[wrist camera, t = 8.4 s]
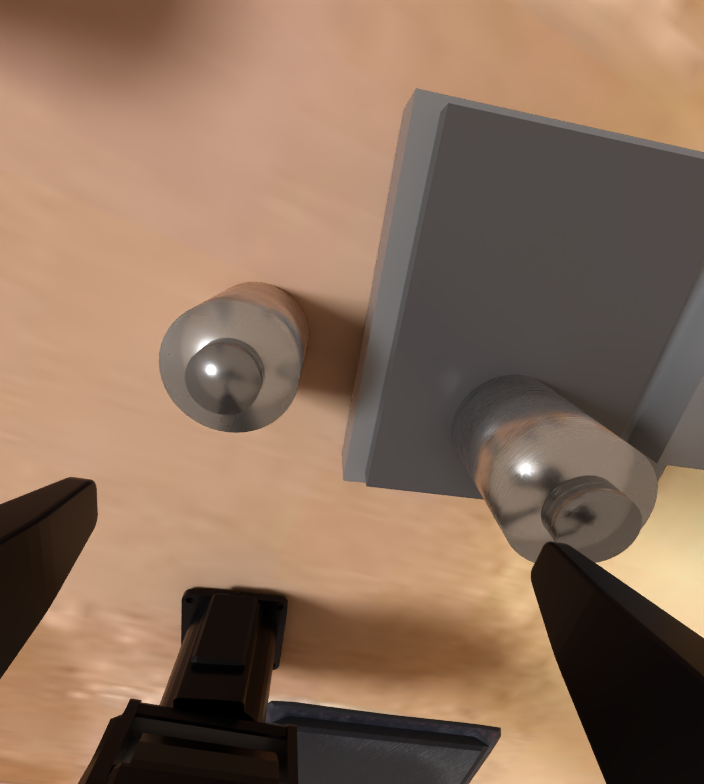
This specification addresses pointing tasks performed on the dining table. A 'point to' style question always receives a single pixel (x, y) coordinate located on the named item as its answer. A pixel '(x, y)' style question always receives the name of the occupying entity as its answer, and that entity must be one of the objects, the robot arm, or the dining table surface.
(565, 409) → the weight
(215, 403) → the weight
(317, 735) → the wallet
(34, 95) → the dining table surface
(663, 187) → the scale
